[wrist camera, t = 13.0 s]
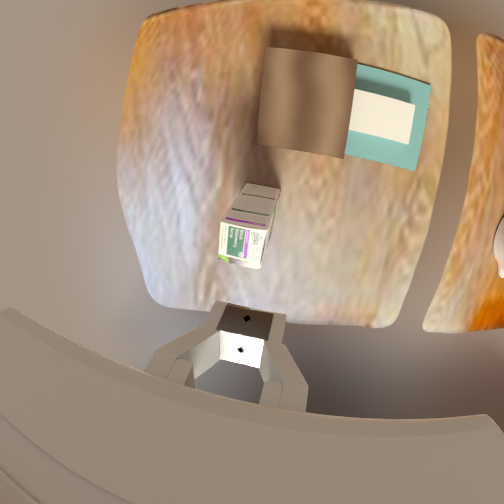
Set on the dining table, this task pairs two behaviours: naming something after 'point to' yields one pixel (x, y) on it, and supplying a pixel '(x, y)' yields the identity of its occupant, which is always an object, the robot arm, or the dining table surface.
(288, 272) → the dining table surface
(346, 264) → the dining table surface
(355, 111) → the cream rectangular block
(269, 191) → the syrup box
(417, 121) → the mat
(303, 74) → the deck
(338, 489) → the robot arm
